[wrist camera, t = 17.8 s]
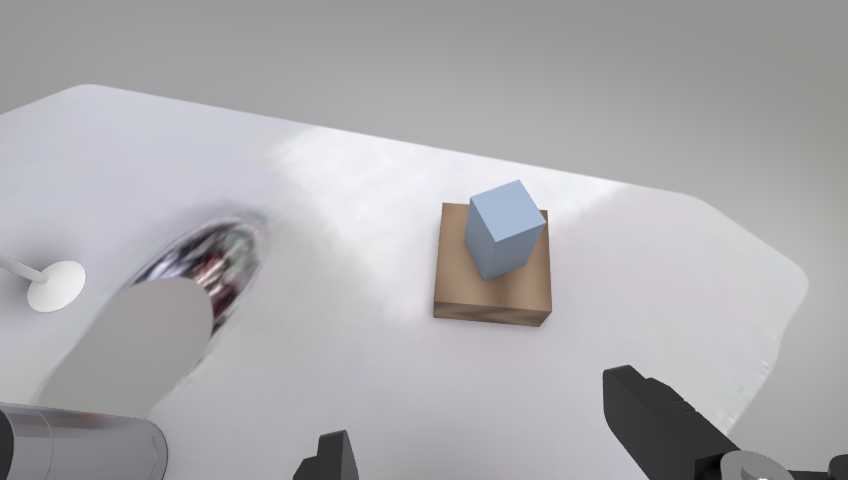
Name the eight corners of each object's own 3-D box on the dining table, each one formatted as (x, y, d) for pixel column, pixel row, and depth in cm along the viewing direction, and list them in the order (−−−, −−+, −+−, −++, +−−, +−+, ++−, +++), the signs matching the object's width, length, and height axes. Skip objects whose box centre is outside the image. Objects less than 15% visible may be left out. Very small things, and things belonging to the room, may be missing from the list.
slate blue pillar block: (483, 281, 43) (495, 242, 36) (463, 242, 46) (470, 197, 38) (526, 264, 44) (546, 222, 36) (504, 227, 46) (519, 179, 38)
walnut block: (433, 318, 48) (433, 301, 43) (441, 227, 53) (442, 202, 48) (538, 327, 47) (552, 311, 42) (535, 235, 53) (547, 210, 47)
